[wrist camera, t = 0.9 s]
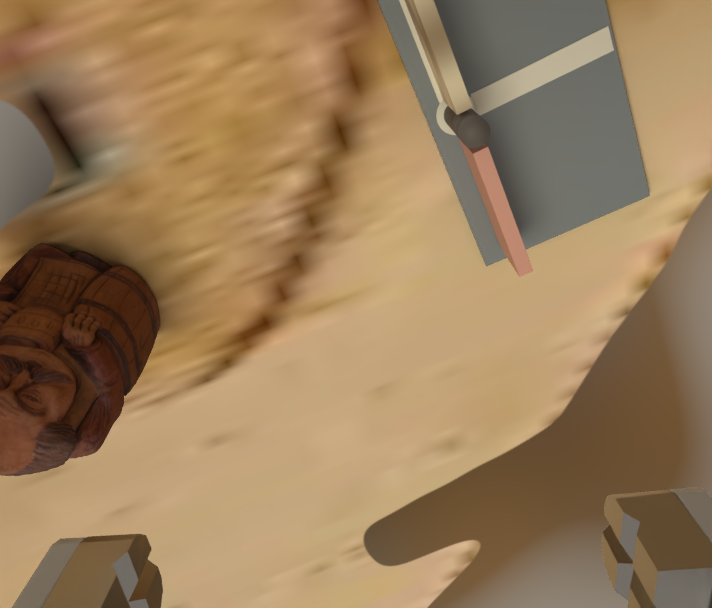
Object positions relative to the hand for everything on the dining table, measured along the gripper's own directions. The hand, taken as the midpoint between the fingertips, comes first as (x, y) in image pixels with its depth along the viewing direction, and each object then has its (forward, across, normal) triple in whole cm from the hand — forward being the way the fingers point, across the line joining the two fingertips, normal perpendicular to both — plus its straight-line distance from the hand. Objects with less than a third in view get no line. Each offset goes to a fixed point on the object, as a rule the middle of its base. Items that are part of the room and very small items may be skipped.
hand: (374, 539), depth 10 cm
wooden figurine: (+34, +22, +7) cm, 41 cm away
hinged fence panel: (+33, -9, +2) cm, 35 cm away
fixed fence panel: (+33, -5, -8) cm, 34 cm away
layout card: (+34, -11, -5) cm, 36 cm away
